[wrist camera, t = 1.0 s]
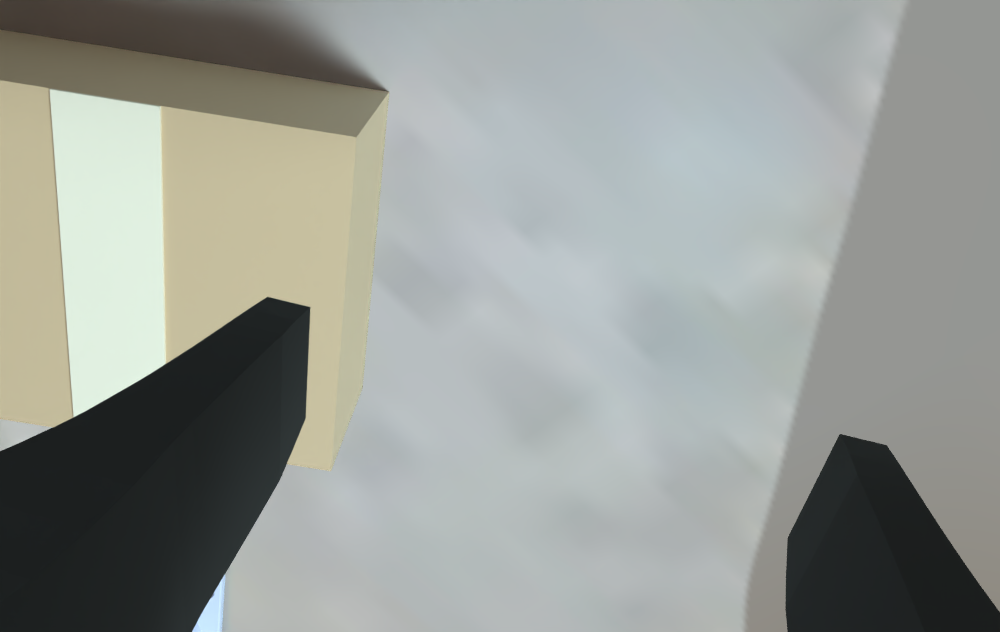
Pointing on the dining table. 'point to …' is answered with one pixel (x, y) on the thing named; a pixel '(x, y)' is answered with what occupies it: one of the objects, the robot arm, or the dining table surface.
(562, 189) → the dining table surface
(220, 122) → the carton
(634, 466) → the dining table surface
